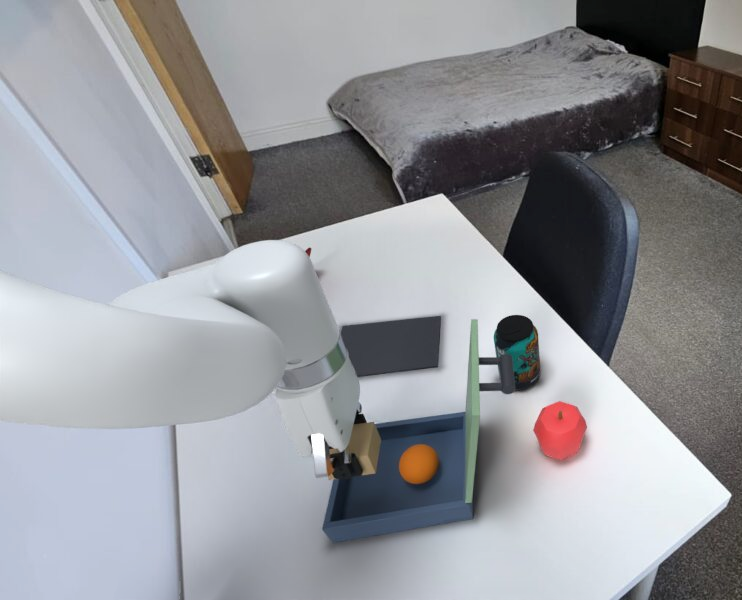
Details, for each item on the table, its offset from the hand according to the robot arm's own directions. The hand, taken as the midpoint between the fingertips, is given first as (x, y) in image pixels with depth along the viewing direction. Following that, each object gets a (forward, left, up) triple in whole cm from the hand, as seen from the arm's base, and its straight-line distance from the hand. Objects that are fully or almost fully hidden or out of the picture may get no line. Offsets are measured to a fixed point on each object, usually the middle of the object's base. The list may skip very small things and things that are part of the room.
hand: (353, 453), depth 60 cm
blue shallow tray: (+5, +1, -9) cm, 10 cm away
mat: (-1, +28, -9) cm, 29 cm away
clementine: (+7, +1, -6) cm, 9 cm away
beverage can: (+22, +17, -9) cm, 29 cm away
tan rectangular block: (0, 0, -1) cm, 1 cm away
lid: (+15, +1, +5) cm, 16 cm away
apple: (+27, +3, -9) cm, 29 cm away
